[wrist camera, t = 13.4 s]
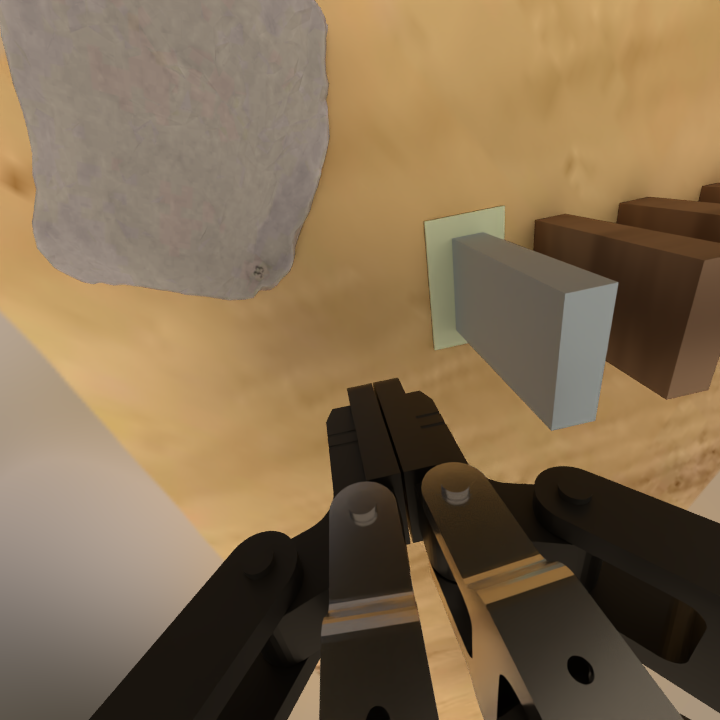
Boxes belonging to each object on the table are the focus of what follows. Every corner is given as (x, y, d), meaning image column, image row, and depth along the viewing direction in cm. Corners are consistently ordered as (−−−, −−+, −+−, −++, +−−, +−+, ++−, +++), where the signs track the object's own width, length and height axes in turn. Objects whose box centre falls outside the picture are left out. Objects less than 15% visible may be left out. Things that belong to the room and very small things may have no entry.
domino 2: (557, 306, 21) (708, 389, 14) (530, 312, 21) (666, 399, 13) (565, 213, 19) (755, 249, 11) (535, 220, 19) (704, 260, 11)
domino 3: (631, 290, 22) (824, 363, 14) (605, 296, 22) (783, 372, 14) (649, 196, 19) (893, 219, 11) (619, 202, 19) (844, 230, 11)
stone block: (324, 8, 16) (16, -114, 12) (364, -30, 12) (-77, -229, 8) (289, 283, 21) (71, 262, 17) (308, 319, 17) (32, 302, 13)
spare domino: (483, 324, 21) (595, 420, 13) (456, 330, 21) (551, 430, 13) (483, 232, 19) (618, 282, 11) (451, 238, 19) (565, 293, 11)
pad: (501, 334, 22) (502, 335, 22) (433, 349, 22) (434, 350, 21) (503, 205, 18) (504, 205, 18) (423, 221, 18) (424, 221, 18)
